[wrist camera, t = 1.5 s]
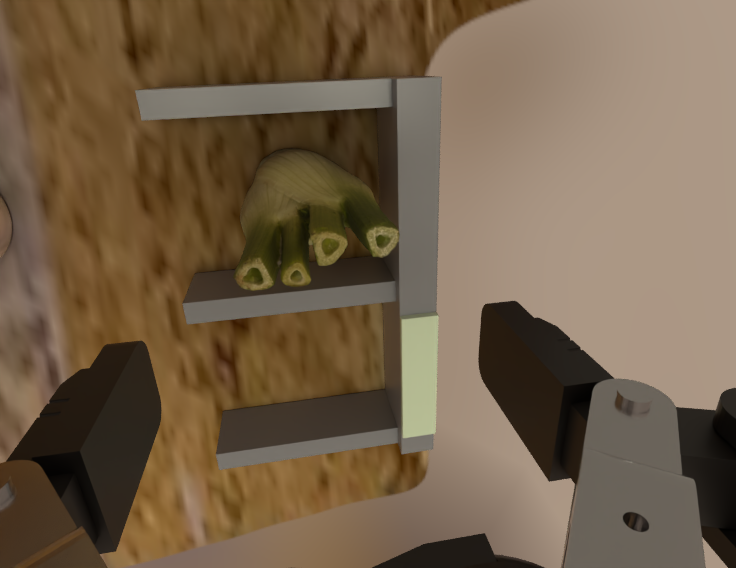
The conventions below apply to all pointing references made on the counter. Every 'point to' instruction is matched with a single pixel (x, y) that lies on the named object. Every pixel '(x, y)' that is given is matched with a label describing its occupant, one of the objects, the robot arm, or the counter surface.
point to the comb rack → (340, 271)
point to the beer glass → (4, 227)
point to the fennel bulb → (305, 219)
